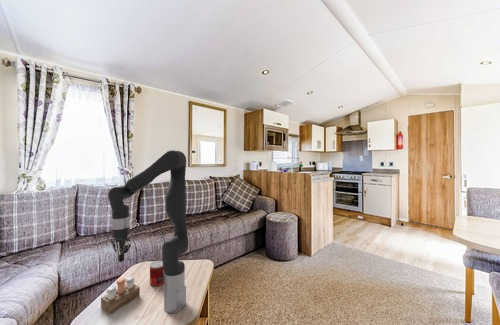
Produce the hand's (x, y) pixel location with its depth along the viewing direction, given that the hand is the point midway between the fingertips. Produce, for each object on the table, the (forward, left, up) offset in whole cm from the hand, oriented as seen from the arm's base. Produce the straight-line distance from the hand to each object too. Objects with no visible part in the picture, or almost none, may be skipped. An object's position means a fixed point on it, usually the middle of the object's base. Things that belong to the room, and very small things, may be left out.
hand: (121, 261), depth 100 cm
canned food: (-2, -19, -21) cm, 28 cm away
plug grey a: (0, +4, -20) cm, 20 cm away
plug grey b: (0, -5, -20) cm, 21 cm away
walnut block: (0, 0, -21) cm, 21 cm away
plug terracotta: (0, 0, -18) cm, 19 cm away
